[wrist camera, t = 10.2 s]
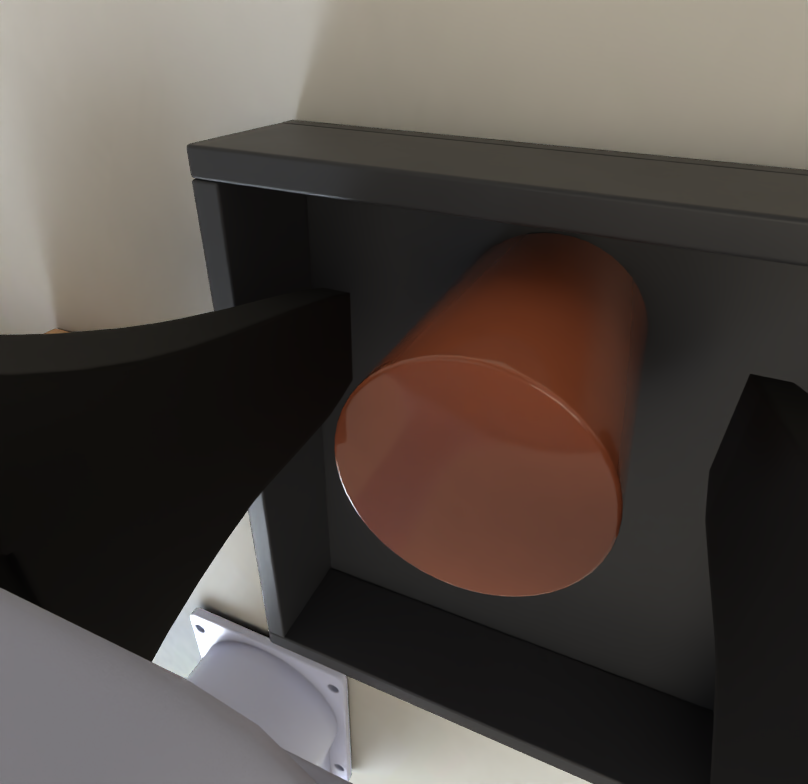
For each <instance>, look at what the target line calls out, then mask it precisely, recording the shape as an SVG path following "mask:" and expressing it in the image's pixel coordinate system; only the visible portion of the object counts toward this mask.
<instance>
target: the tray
mask: <svg viewBox="0 0 808 784" xmlns="http://www.w3.org/2000/svg"><path fill="white" fill-rule="evenodd" d="M187 153H188V159H189V165H190V171H191V175H192V177H193V178H195V179H194V180H193V181H192V184H193V190H194V196H195V202H196V208H197V214H198V219H199V225H200V231H201V237H202V243H203V249H204V255H205V260H206V266H207V272H208V278H209V284H210V290H211V296H212V301H213V307H214V311H218V310H222V309H227V308H231V307H235V306H239V305H243V304H247V303H251V302H255V301H259V300H263V299H267V298H271V297H275V296H279V295H283V294H287V293H292V292H296V291H301V290H307V289H313V288H328V289H333V290H338V291H343V292H348V293H350V304H351V338H352V372H353V380H352V382H351V384H350V385H349V387H348V389H347V390H346V392H345V393H344V395H343V397H342V398H341V400H340V401H339V403H338V404H337V406H336V407H335V409H334V410H333V412H332V413H331V415H330V416H329V417H328V418H327V420H326V421H325V422H324V423H323V424H322V425H321V426H320V428H319V429H318V430H317V431H316V432H315V433H314V434H313V436H312V437H311V438H310V439H309V440H308V441H307V442H306V443H305V445H304V446H303V447H302V448H301V449H300V450H299V451H298V452H297V453H296V454H295V456H294V457H293V458H292V459H291V460H290V461H289V462H288V463H287V464H286V466H285V467H284V468H283V469H282V470H281V471H280V472H279V473H278V474H277V475H276V477H275V478H274V479H273V480H272V481H271V482H270V483H269V484H268V485H267V487H266V488H265V489H264V490H263V491H262V493H261V494H260V495H259V496H258V497H257V499H256V500H255V501H254V502H253V504H252V505H251V506H250V508H249V509H248V513H249V518H250V524H251V530H252V536H253V542H254V548H255V554H256V559H257V565H258V571H259V577H260V583H261V589H262V595H263V601H264V606H265V612H266V618H267V624H268V630H269V635H270V641H271V642H272V643H274V644H276V645H278V646H280V647H283V648H285V649H287V650H290V651H292V652H294V653H296V654H299V655H301V656H303V657H306V658H308V659H310V660H312V661H315V662H317V663H319V664H321V665H324V666H326V667H328V668H331V669H333V670H335V671H337V672H340V673H342V674H344V675H347V676H349V677H351V678H353V679H356V680H358V681H360V682H362V683H365V684H367V685H369V686H372V687H374V688H376V689H378V690H381V691H383V692H385V693H388V694H390V695H392V696H394V697H397V698H399V699H401V700H403V701H406V702H408V703H410V704H413V705H415V706H417V707H419V708H422V709H424V710H426V711H429V712H431V713H433V714H435V715H438V716H440V717H442V718H445V719H447V720H449V721H451V722H454V723H456V724H458V725H460V726H463V727H465V728H467V729H470V730H472V731H474V732H476V733H479V734H481V735H483V736H486V737H488V738H490V739H492V740H495V741H497V742H499V743H501V744H504V745H506V746H508V747H511V748H513V749H515V750H517V751H520V752H522V753H524V754H527V755H529V756H531V757H533V758H536V759H538V760H540V761H542V762H545V763H547V764H549V765H552V766H554V767H556V768H558V769H561V770H563V771H565V772H568V773H570V774H572V775H574V776H577V777H579V778H581V779H584V780H586V781H588V782H590V783H593V784H710V778H711V761H712V743H713V725H714V698H715V672H716V662H715V636H714V624H713V613H712V601H711V589H710V577H709V566H708V553H707V540H706V526H705V516H706V500H707V489H708V478H709V470H710V468H711V465H712V463H713V461H714V458H715V456H716V453H717V451H718V449H719V446H720V444H721V442H722V439H723V437H724V434H725V432H726V430H727V427H728V425H729V422H730V420H731V418H732V415H733V413H734V411H735V408H736V406H737V403H738V401H739V399H740V396H741V394H742V392H743V389H744V387H745V384H746V382H747V380H748V377H749V375H750V374H754V375H759V376H764V377H769V378H774V379H779V380H784V381H789V382H793V383H795V384H796V385H798V386H799V387H800V388H802V389H803V390H804V391H805V392H807V393H808V170H801V169H791V168H780V167H770V166H760V165H749V164H739V163H729V162H719V161H708V160H698V159H688V158H677V157H667V156H657V155H647V154H636V153H626V152H616V151H605V150H595V149H585V148H575V147H564V146H554V145H544V144H533V143H523V142H513V141H503V140H492V139H482V138H472V137H461V136H451V135H441V134H431V133H420V132H410V131H400V130H389V129H379V128H369V127H359V126H348V125H338V124H328V123H318V122H307V121H297V120H291V121H286V122H282V123H278V124H274V125H269V126H265V127H261V128H256V129H252V130H247V131H243V132H239V133H234V134H230V135H225V136H221V137H217V138H212V139H208V140H204V141H199V142H195V143H190V144H188V145H187ZM533 233H554V234H562V235H567V236H572V237H575V238H578V239H581V240H584V241H587V242H589V243H591V244H593V245H595V246H597V247H599V248H601V249H602V250H603V251H605V252H606V253H608V254H609V255H611V256H612V257H613V258H614V259H615V260H616V261H618V262H619V263H620V264H621V265H622V266H623V267H624V268H625V270H626V271H627V272H628V273H629V274H630V276H631V277H632V279H633V280H634V282H635V283H636V285H637V287H638V288H639V291H640V293H641V295H642V298H643V300H644V304H645V308H646V312H647V319H648V338H647V346H646V353H645V360H644V367H643V374H642V382H641V389H640V396H639V403H638V411H637V418H636V425H635V432H634V439H633V447H632V454H631V461H630V468H629V475H628V483H627V490H626V497H625V504H624V511H623V518H622V523H621V527H620V532H619V535H618V537H617V539H616V542H615V544H614V546H613V548H612V550H611V551H610V552H609V554H608V555H607V557H606V558H605V560H604V561H603V562H602V563H601V564H600V565H599V566H598V567H597V568H596V569H595V570H594V571H593V572H592V573H590V574H589V575H587V576H586V577H585V578H583V579H582V580H580V581H579V582H577V583H575V584H573V585H571V586H568V587H566V588H564V589H561V590H558V591H555V592H552V593H547V594H541V595H536V596H524V597H506V596H495V595H488V594H482V593H478V592H473V591H469V590H466V589H463V588H459V587H456V586H453V585H451V584H448V583H446V582H443V581H441V580H438V579H436V578H434V577H432V576H430V575H428V574H426V573H424V572H422V571H421V570H419V569H417V568H416V567H414V566H413V565H411V564H409V563H408V562H406V561H405V560H404V559H402V558H401V557H399V556H398V555H397V554H395V553H394V552H393V551H392V550H391V549H389V548H388V547H387V546H386V545H385V544H384V543H382V542H381V540H380V539H379V538H378V537H377V536H376V535H375V534H374V533H373V532H372V531H371V530H370V529H369V528H368V526H367V525H366V524H365V523H364V522H363V520H362V519H361V518H360V516H359V515H358V513H357V512H356V510H355V509H354V507H353V506H352V504H351V502H350V500H349V498H348V496H347V495H346V493H345V490H344V488H343V485H342V483H341V480H340V477H339V473H338V470H337V466H336V459H335V451H334V449H335V433H336V427H337V422H338V418H339V416H340V413H341V410H342V408H343V406H344V404H345V402H346V401H347V399H348V397H349V395H350V394H351V393H352V392H353V391H354V389H355V388H356V387H357V386H358V385H359V384H360V383H361V381H362V380H363V379H364V378H365V377H366V376H367V375H368V374H369V373H370V372H371V371H372V370H373V369H374V368H375V367H376V365H377V364H378V363H379V362H380V361H381V360H382V359H383V358H384V357H385V356H386V355H387V354H388V353H389V352H390V350H391V349H392V348H393V347H394V346H395V345H396V344H397V343H398V342H399V341H400V340H401V339H402V338H403V337H404V335H405V334H406V333H407V332H408V331H409V330H410V329H411V328H412V327H413V326H414V325H415V324H416V323H417V322H418V320H419V319H420V318H421V317H422V316H423V315H424V314H425V313H426V312H427V311H428V310H429V309H430V308H431V307H432V306H433V304H434V303H435V302H436V301H437V300H438V299H439V298H440V297H441V296H442V295H443V294H444V293H445V292H446V291H447V289H448V288H449V287H450V286H451V285H452V284H453V283H454V282H455V281H456V280H457V279H458V278H459V277H460V276H461V274H462V273H463V272H464V271H465V270H466V269H467V268H468V267H469V266H470V265H471V264H472V263H473V262H474V261H475V260H476V259H477V258H478V257H479V256H480V255H481V254H483V253H484V252H485V251H487V250H488V249H490V248H491V247H493V246H494V245H497V244H499V243H501V242H503V241H505V240H508V239H511V238H514V237H517V236H521V235H527V234H533Z"/></svg>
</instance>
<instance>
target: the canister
mask: <svg viewBox="0 0 808 784" xmlns="http://www.w3.org/2000/svg"><path fill="white" fill-rule="evenodd" d="M647 338H648V319H647V312H646V308H645V304H644V300H643V298H642V295H641V293H640V291H639V288H638V287H637V285H636V283H635V282H634V280H633V279H632V277H631V276H630V274H629V273H628V272H627V271H626V270H625V268H624V267H623V266H622V265H621V264H620V263H619V262H618V261H616V260H615V259H614V258H613V257H612V256H611V255H609V254H608V253H606V252H605V251H603V250H602V249H601V248H599V247H597V246H595V245H593V244H591V243H589V242H587V241H584V240H581V239H578V238H575V237H572V236H567V235H562V234H554V233H533V234H527V235H521V236H517V237H514V238H511V239H508V240H505V241H503V242H501V243H499V244H497V245H494V246H493V247H491V248H490V249H488V250H487V251H485V252H484V253H483V254H481V255H480V256H479V257H478V258H477V259H476V260H475V261H474V262H473V263H472V264H471V265H470V266H469V267H468V268H467V269H466V270H465V271H464V272H463V273H462V274H461V276H460V277H459V278H458V279H457V280H456V281H455V282H454V283H453V284H452V285H451V286H450V287H449V288H448V289H447V291H446V292H445V293H444V294H443V295H442V296H441V297H440V298H439V299H438V300H437V301H436V302H435V303H434V304H433V306H432V307H431V308H430V309H429V310H428V311H427V312H426V313H425V314H424V315H423V316H422V317H421V318H420V319H419V320H418V322H417V323H416V324H415V325H414V326H413V327H412V328H411V329H410V330H409V331H408V332H407V333H406V334H405V335H404V337H403V338H402V339H401V340H400V341H399V342H398V343H397V344H396V345H395V346H394V347H393V348H392V349H391V350H390V352H389V353H388V354H387V355H386V356H385V357H384V358H383V359H382V360H381V361H380V362H379V363H378V364H377V365H376V367H375V368H374V369H373V370H372V371H371V372H370V373H369V374H368V375H367V376H366V377H365V378H364V379H363V380H362V381H361V383H360V384H359V385H358V386H357V387H356V388H355V389H354V391H353V392H352V393H351V394H350V395H349V397H348V399H347V401H346V402H345V404H344V406H343V408H342V410H341V413H340V416H339V418H338V422H337V427H336V433H335V449H334V451H335V459H336V466H337V470H338V473H339V477H340V480H341V483H342V485H343V488H344V490H345V493H346V495H347V496H348V498H349V500H350V502H351V504H352V506H353V507H354V509H355V510H356V512H357V513H358V515H359V516H360V518H361V519H362V520H363V522H364V523H365V524H366V525H367V526H368V528H369V529H370V530H371V531H372V532H373V533H374V534H375V535H376V536H377V537H378V538H379V539H380V540H381V542H382V543H384V544H385V545H386V546H387V547H388V548H389V549H391V550H392V551H393V552H394V553H395V554H397V555H398V556H399V557H401V558H402V559H404V560H405V561H406V562H408V563H409V564H411V565H413V566H414V567H416V568H417V569H419V570H421V571H422V572H424V573H426V574H428V575H430V576H432V577H434V578H436V579H438V580H441V581H443V582H446V583H448V584H451V585H453V586H456V587H459V588H463V589H466V590H469V591H473V592H478V593H482V594H488V595H495V596H506V597H524V596H536V595H541V594H547V593H552V592H555V591H558V590H561V589H564V588H566V587H568V586H571V585H573V584H575V583H577V582H579V581H580V580H582V579H583V578H585V577H586V576H587V575H589V574H590V573H592V572H593V571H594V570H595V569H596V568H597V567H598V566H599V565H600V564H601V563H602V562H603V561H604V560H605V558H606V557H607V555H608V554H609V552H610V551H611V550H612V548H613V546H614V544H615V542H616V539H617V537H618V535H619V532H620V527H621V523H622V518H623V511H624V504H625V497H626V490H627V483H628V475H629V468H630V461H631V454H632V447H633V439H634V432H635V425H636V418H637V411H638V403H639V396H640V389H641V382H642V374H643V367H644V360H645V353H646V346H647Z"/></svg>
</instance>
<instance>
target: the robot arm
mask: <svg viewBox="0 0 808 784" xmlns="http://www.w3.org/2000/svg"><path fill="white" fill-rule="evenodd" d="M352 380H353V372H352V338H351V304H350V293H348V292H343V291H338V290H333V289H328V288H313V289H307V290H301V291H296V292H292V293H287V294H283V295H279V296H275V297H271V298H267V299H263V300H259V301H255V302H251V303H247V304H243V305H239V306H235V307H231V308H227V309H222V310H218V311H213V312H209V313H204V314H200V315H195V316H191V317H186V318H182V319H176V320H171V321H165V322H160V323H154V324H147V325H140V326H133V327H125V328H117V329H106V330H94V331H81V332H69V333H55V334H26V335H0V784H352V783H350V782H349V780H350V778H351V775H352V765H351V745H350V726H349V706H348V686H347V677H346V675H344V674H342V673H340V672H337V671H335V670H333V669H331V668H328V667H326V666H324V665H321V664H319V663H317V662H315V661H312V660H310V659H308V658H306V657H303V656H301V655H299V654H296V653H294V652H292V651H290V650H287V649H285V648H283V647H280V646H278V645H276V644H274V643H272V642H271V641H270V638H268V637H266V636H263V635H261V634H259V633H256V632H254V631H252V630H250V629H247V628H245V627H243V626H240V625H238V624H236V623H234V622H231V621H229V620H227V619H224V618H222V617H220V616H218V615H215V614H213V613H211V612H208V611H206V610H204V609H201V608H196V609H195V610H194V611H193V612H192V613H191V614H190V619H191V623H192V626H193V630H194V633H195V637H196V640H197V643H198V647H199V650H200V654H201V657H202V660H201V661H200V662H199V663H198V665H197V666H196V667H195V669H194V670H193V671H192V673H191V674H190V675H189V676H188V678H187V679H185V678H183V677H181V676H179V675H177V674H175V673H173V672H171V671H169V670H166V669H164V668H162V667H160V666H158V665H156V664H154V663H152V660H153V658H154V657H155V655H156V653H157V651H158V650H159V648H160V646H161V644H162V642H163V641H164V639H165V637H166V635H167V633H168V632H169V630H170V628H171V627H172V625H173V623H174V622H175V620H176V618H177V617H178V615H179V614H180V612H181V610H182V609H183V607H184V605H185V604H186V602H187V600H188V599H189V597H190V595H191V594H192V592H193V591H194V589H195V587H196V586H197V584H198V582H199V581H200V579H201V578H202V576H203V575H204V573H205V572H206V570H207V569H208V567H209V566H210V564H211V563H212V561H213V560H214V558H215V557H216V555H217V554H218V552H219V551H220V549H221V548H222V546H223V545H224V543H225V542H226V540H227V539H228V537H229V536H230V534H231V533H232V532H233V530H234V529H235V527H236V526H237V525H238V523H239V522H240V520H241V519H242V518H243V516H244V515H245V513H246V512H247V511H248V509H249V508H250V506H251V505H252V504H253V502H254V501H255V500H256V499H257V497H258V496H259V495H260V494H261V493H262V491H263V490H264V489H265V488H266V487H267V485H268V484H269V483H270V482H271V481H272V480H273V479H274V478H275V477H276V475H277V474H278V473H279V472H280V471H281V470H282V469H283V468H284V467H285V466H286V464H287V463H288V462H289V461H290V460H291V459H292V458H293V457H294V456H295V454H296V453H297V452H298V451H299V450H300V449H301V448H302V447H303V446H304V445H305V443H306V442H307V441H308V440H309V439H310V438H311V437H312V436H313V434H314V433H315V432H316V431H317V430H318V429H319V428H320V426H321V425H322V424H323V423H324V422H325V421H326V420H327V418H328V417H329V416H330V415H331V413H332V412H333V410H334V409H335V407H336V406H337V404H338V403H339V401H340V400H341V398H342V397H343V395H344V393H345V392H346V390H347V389H348V387H349V385H350V384H351V382H352ZM705 526H706V540H707V553H708V566H709V577H710V589H711V601H712V613H713V624H714V636H715V662H716V672H715V698H714V725H713V743H712V761H711V778H710V784H808V393H807V392H805V391H804V390H803V389H802V388H800V387H799V386H798V385H796V384H795V383H793V382H789V381H784V380H779V379H774V378H769V377H764V376H759V375H754V374H750V375H749V377H748V380H747V382H746V384H745V387H744V389H743V392H742V394H741V396H740V399H739V401H738V403H737V406H736V408H735V411H734V413H733V415H732V418H731V420H730V422H729V425H728V427H727V430H726V432H725V434H724V437H723V439H722V442H721V444H720V446H719V449H718V451H717V453H716V456H715V458H714V461H713V463H712V465H711V468H710V470H709V478H708V489H707V500H706V516H705Z"/></svg>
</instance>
